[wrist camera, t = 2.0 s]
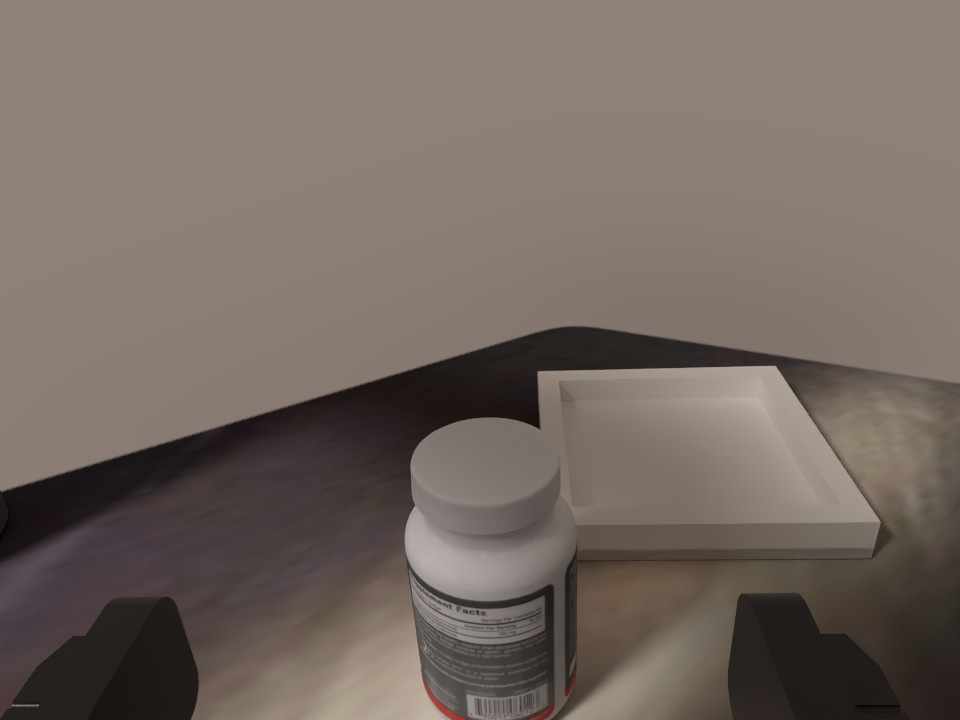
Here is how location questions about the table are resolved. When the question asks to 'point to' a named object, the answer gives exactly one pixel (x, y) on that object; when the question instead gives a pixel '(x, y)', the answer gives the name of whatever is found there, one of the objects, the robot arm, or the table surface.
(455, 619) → the pill bottle
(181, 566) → the table surface
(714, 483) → the tray
